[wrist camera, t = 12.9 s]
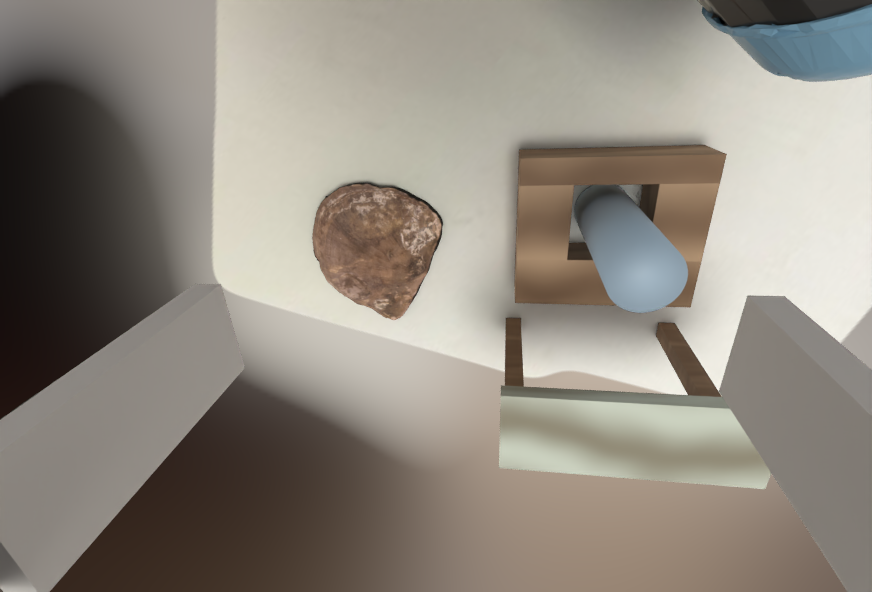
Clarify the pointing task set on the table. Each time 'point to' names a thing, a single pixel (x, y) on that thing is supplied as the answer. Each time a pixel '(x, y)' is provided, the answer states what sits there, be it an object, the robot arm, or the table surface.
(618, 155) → the socket station
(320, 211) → the shell
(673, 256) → the peg
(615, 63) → the table surface
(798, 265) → the table surface
